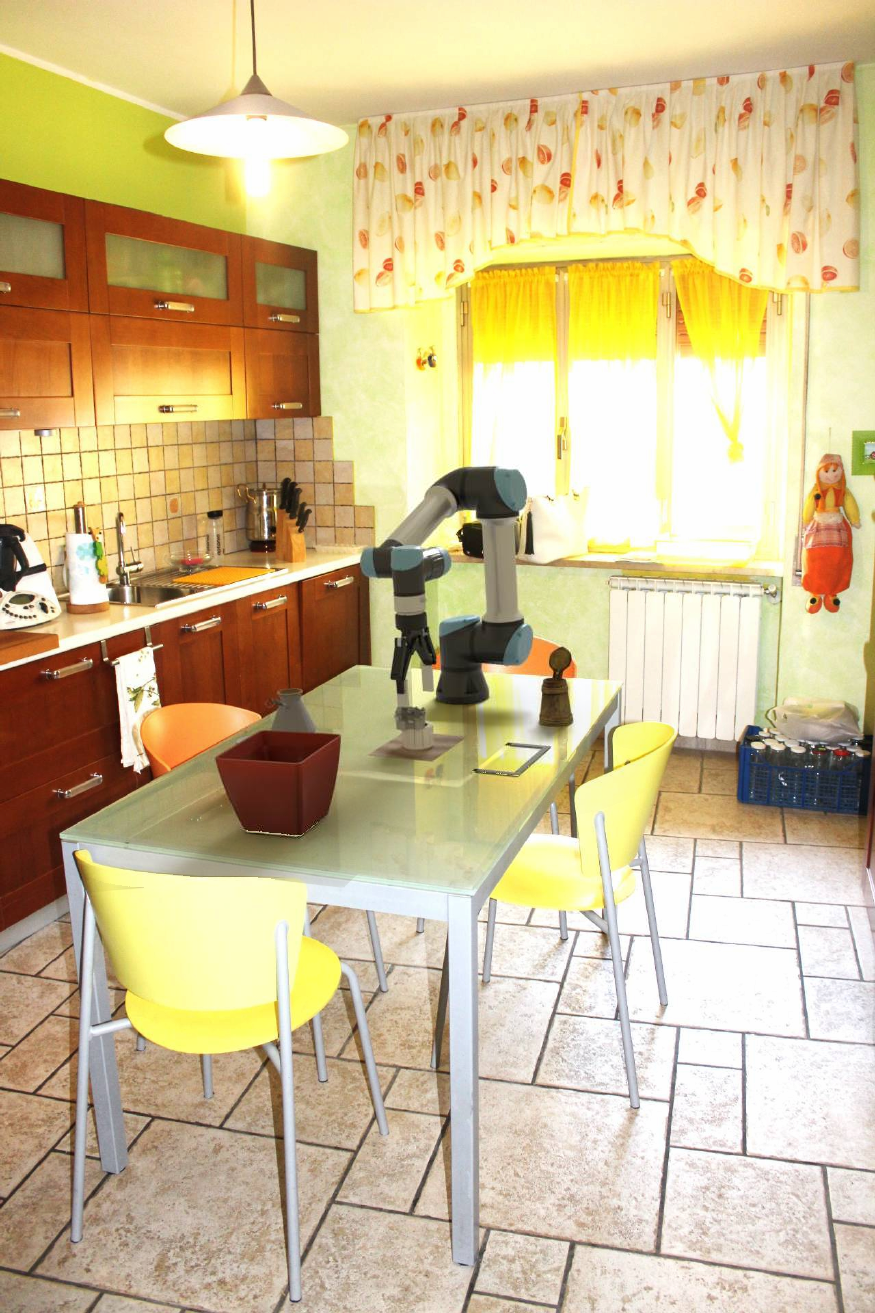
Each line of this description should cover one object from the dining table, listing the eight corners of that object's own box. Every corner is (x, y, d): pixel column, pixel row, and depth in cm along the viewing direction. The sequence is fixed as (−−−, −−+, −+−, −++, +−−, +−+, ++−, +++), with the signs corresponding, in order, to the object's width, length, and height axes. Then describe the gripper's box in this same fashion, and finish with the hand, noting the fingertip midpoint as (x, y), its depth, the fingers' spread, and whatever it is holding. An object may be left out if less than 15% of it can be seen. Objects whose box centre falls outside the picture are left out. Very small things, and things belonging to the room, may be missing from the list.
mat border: (478, 740, 273) (478, 739, 273) (551, 747, 265) (551, 746, 265) (440, 768, 254) (440, 767, 253) (518, 776, 245) (518, 775, 245)
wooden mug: (581, 712, 293) (579, 646, 289) (568, 727, 280) (567, 658, 276) (548, 711, 296) (546, 645, 292) (534, 725, 283) (532, 657, 279)
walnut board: (405, 735, 280) (405, 731, 280) (467, 741, 273) (466, 736, 273) (368, 759, 263) (367, 754, 262) (432, 766, 255) (432, 761, 255)
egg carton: (424, 731, 261) (423, 714, 260) (393, 731, 262) (392, 715, 261) (428, 718, 272) (427, 702, 271) (397, 718, 272) (396, 702, 271)
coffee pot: (279, 733, 288) (275, 677, 285) (322, 733, 286) (317, 677, 283) (251, 759, 268) (245, 699, 264) (296, 759, 265) (291, 699, 262)
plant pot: (220, 838, 219) (212, 756, 215) (267, 804, 236) (261, 728, 232) (306, 847, 212) (299, 763, 208) (348, 812, 229) (343, 734, 226)
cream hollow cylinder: (411, 739, 272) (410, 719, 271) (438, 742, 269) (437, 721, 268) (397, 748, 266) (396, 728, 265) (425, 751, 263) (424, 730, 262)
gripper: (400, 623, 248) (407, 714, 253) (447, 602, 270) (451, 686, 275) (371, 622, 251) (378, 712, 256) (419, 601, 273) (424, 684, 278)
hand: (416, 698), depth 265 cm, fingers open, 13 cm apart
